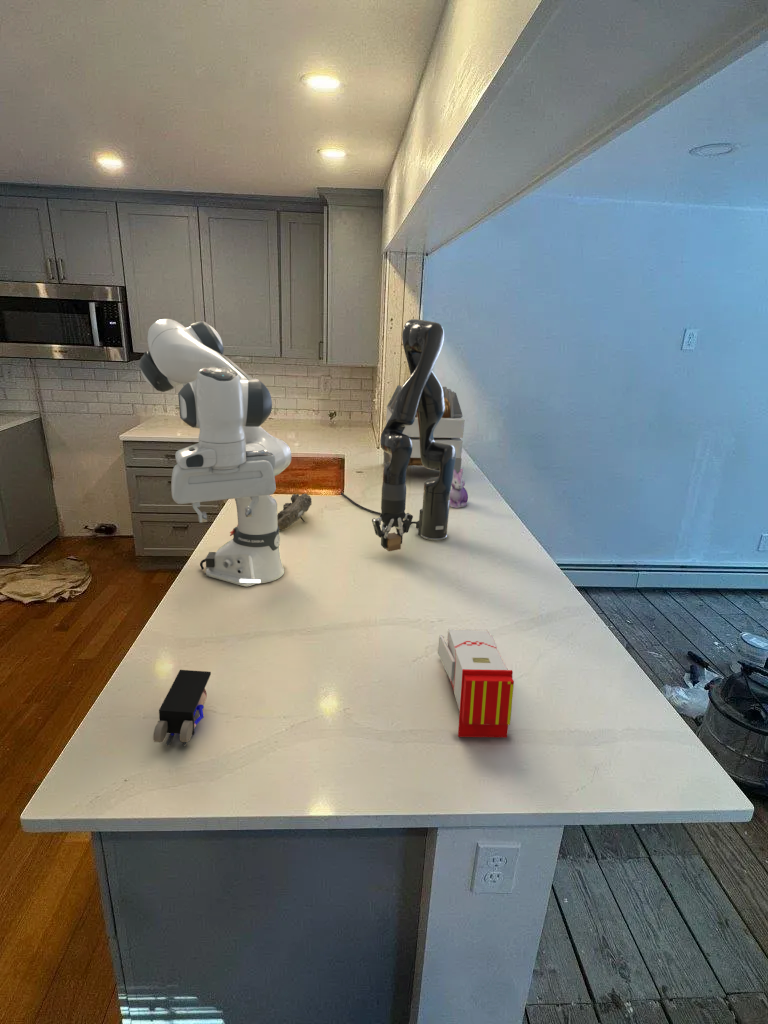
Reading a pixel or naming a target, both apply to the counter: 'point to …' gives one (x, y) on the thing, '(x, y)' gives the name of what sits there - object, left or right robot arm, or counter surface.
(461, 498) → the figurine
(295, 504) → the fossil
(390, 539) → the brown wooden cube
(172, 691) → the figurine character
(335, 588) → the counter surface
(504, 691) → the toy
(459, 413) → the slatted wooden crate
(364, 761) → the counter surface
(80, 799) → the counter surface
